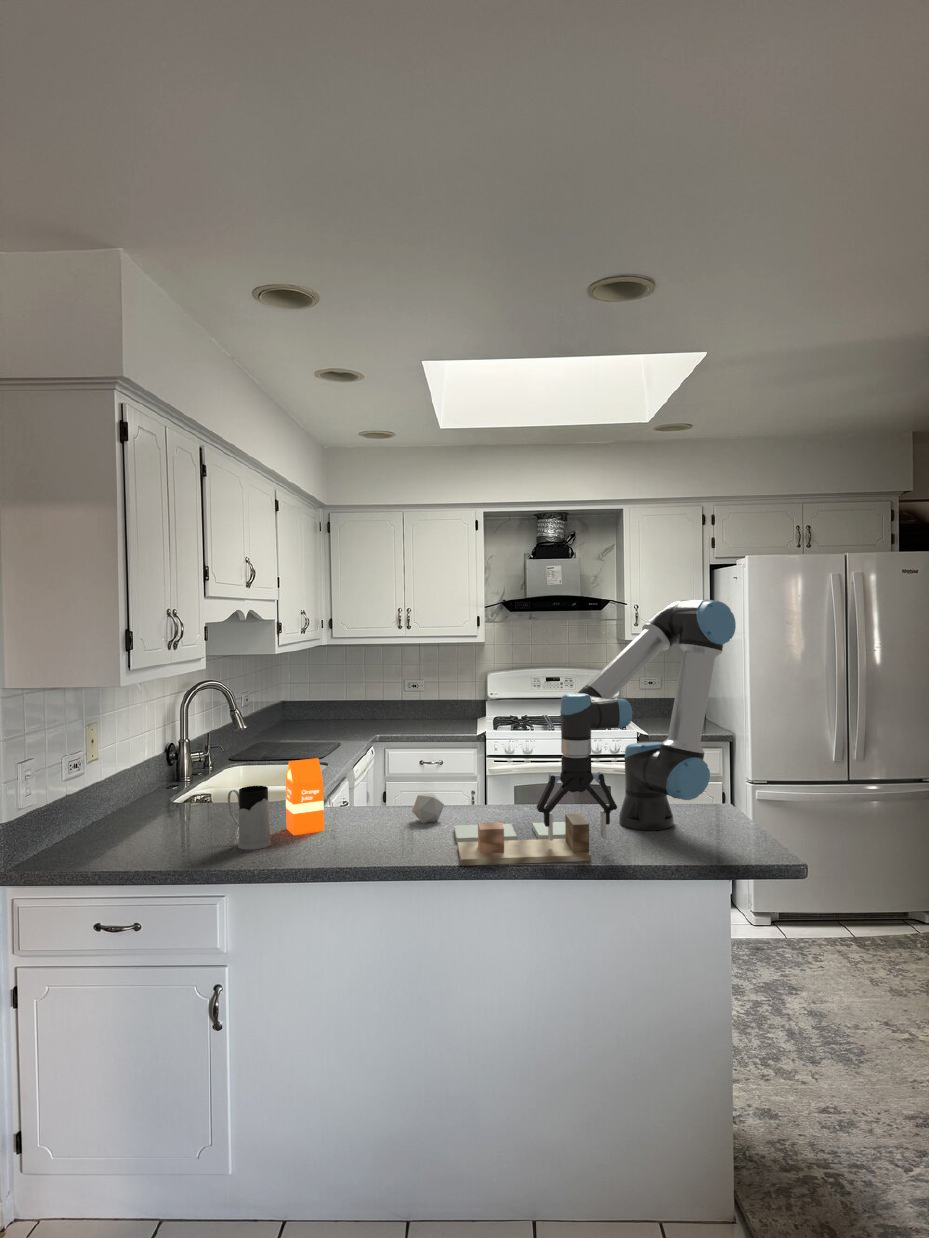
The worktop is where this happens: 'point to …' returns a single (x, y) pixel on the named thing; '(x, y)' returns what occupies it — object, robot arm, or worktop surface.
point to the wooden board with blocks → (535, 847)
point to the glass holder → (252, 817)
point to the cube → (491, 837)
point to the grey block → (427, 808)
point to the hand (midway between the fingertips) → (577, 838)
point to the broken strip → (509, 832)
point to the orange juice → (304, 797)
